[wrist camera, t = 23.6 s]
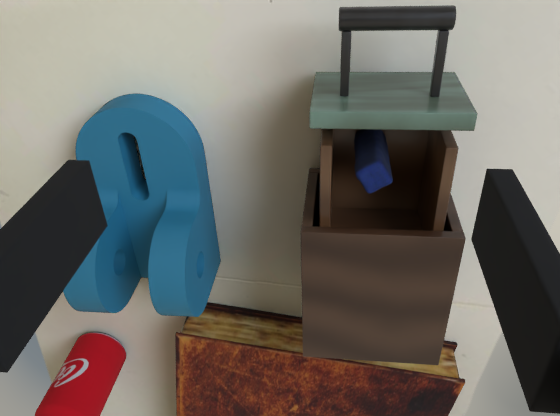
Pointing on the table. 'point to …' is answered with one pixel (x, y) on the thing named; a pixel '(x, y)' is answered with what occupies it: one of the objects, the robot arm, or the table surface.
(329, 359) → the book
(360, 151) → the eraser
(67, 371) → the beverage can
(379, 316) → the cabinet
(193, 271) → the camera mount
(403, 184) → the drawer
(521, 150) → the table surface
